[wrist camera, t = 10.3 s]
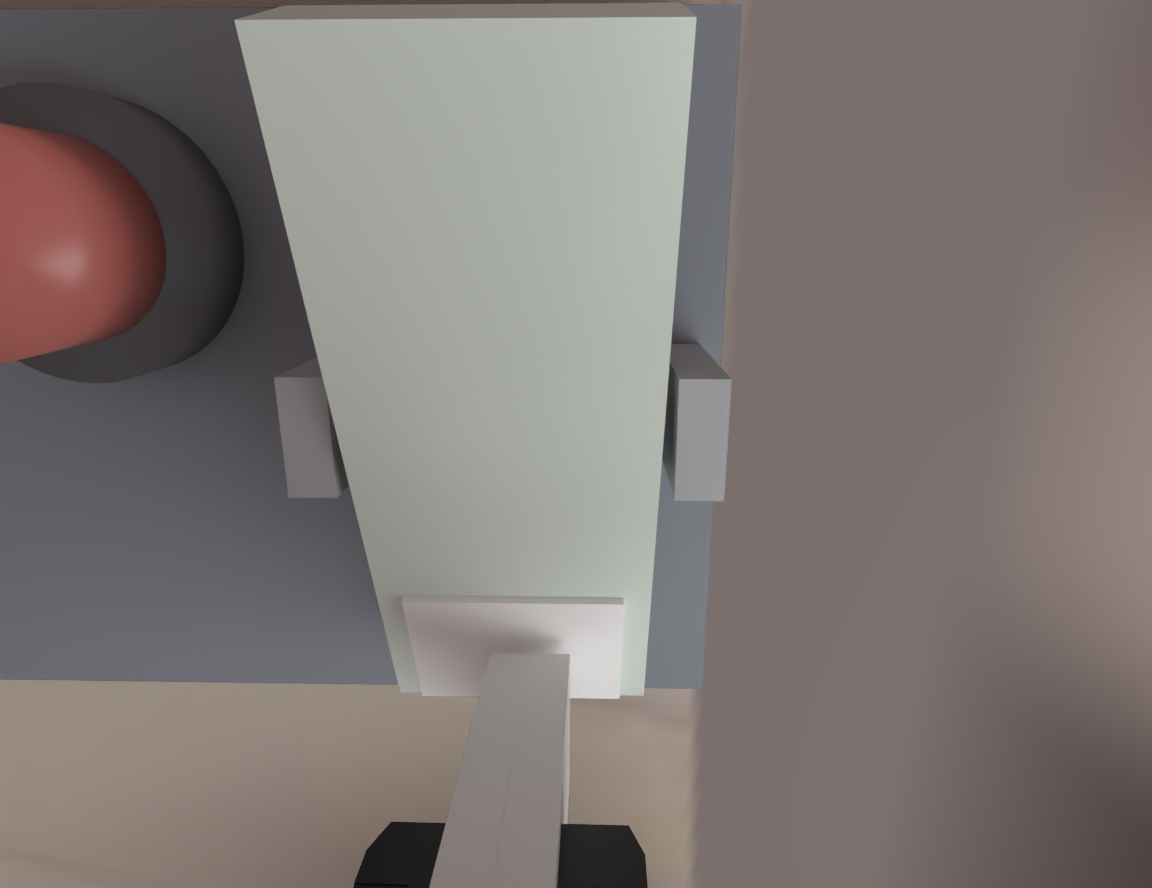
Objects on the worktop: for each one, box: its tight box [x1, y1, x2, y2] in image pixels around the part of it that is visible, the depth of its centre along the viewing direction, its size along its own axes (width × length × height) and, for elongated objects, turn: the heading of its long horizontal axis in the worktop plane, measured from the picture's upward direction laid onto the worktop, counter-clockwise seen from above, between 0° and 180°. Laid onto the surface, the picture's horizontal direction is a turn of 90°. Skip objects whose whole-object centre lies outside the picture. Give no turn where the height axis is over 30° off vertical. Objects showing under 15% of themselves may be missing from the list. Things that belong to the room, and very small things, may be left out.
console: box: [0, 4, 742, 689], centre depth 14 cm, size 24×14×6 cm, turn 90°
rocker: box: [234, 3, 697, 699], centre depth 12 cm, size 5×12×2 cm, turn 0°
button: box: [0, 123, 166, 364], centre depth 12 cm, size 4×4×2 cm
